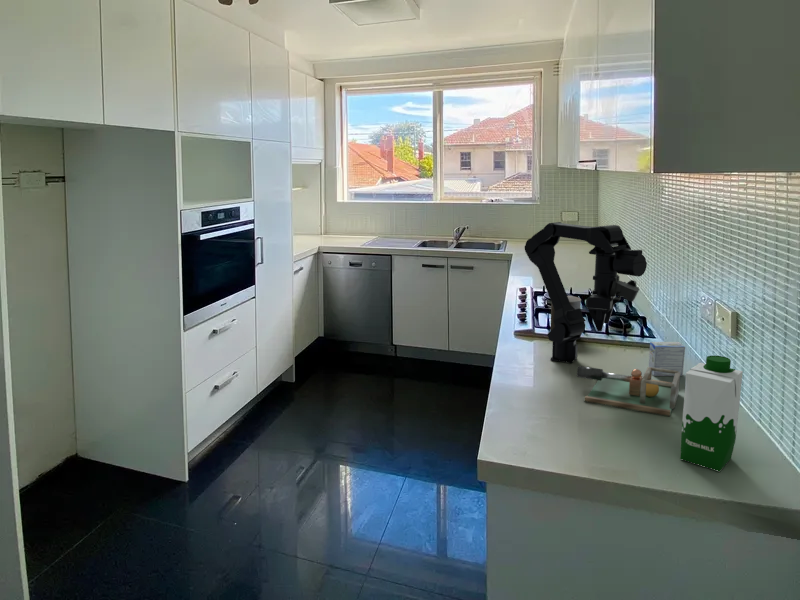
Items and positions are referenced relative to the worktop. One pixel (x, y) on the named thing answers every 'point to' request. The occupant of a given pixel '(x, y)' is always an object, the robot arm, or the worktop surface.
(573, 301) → the pillar candle
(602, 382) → the pitch
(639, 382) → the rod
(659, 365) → the medicine box
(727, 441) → the milk carton
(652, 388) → the ball
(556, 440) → the worktop surface
